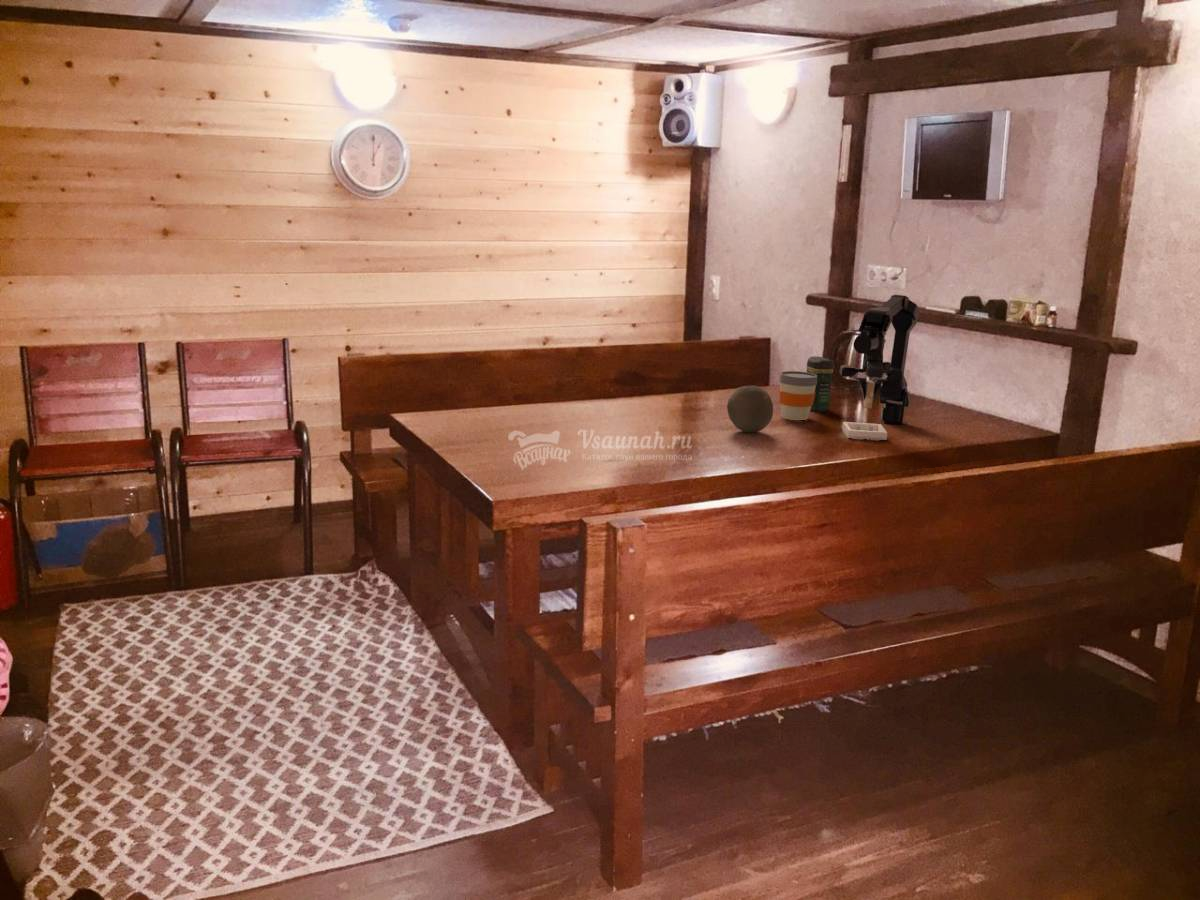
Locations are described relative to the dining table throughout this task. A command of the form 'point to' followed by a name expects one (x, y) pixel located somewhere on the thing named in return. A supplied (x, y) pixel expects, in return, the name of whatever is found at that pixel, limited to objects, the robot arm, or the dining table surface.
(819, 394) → the coffee jar
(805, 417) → the reusable coffee cup
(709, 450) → the dining table surface
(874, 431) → the dish
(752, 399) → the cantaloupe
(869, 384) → the tan cuboid brick
